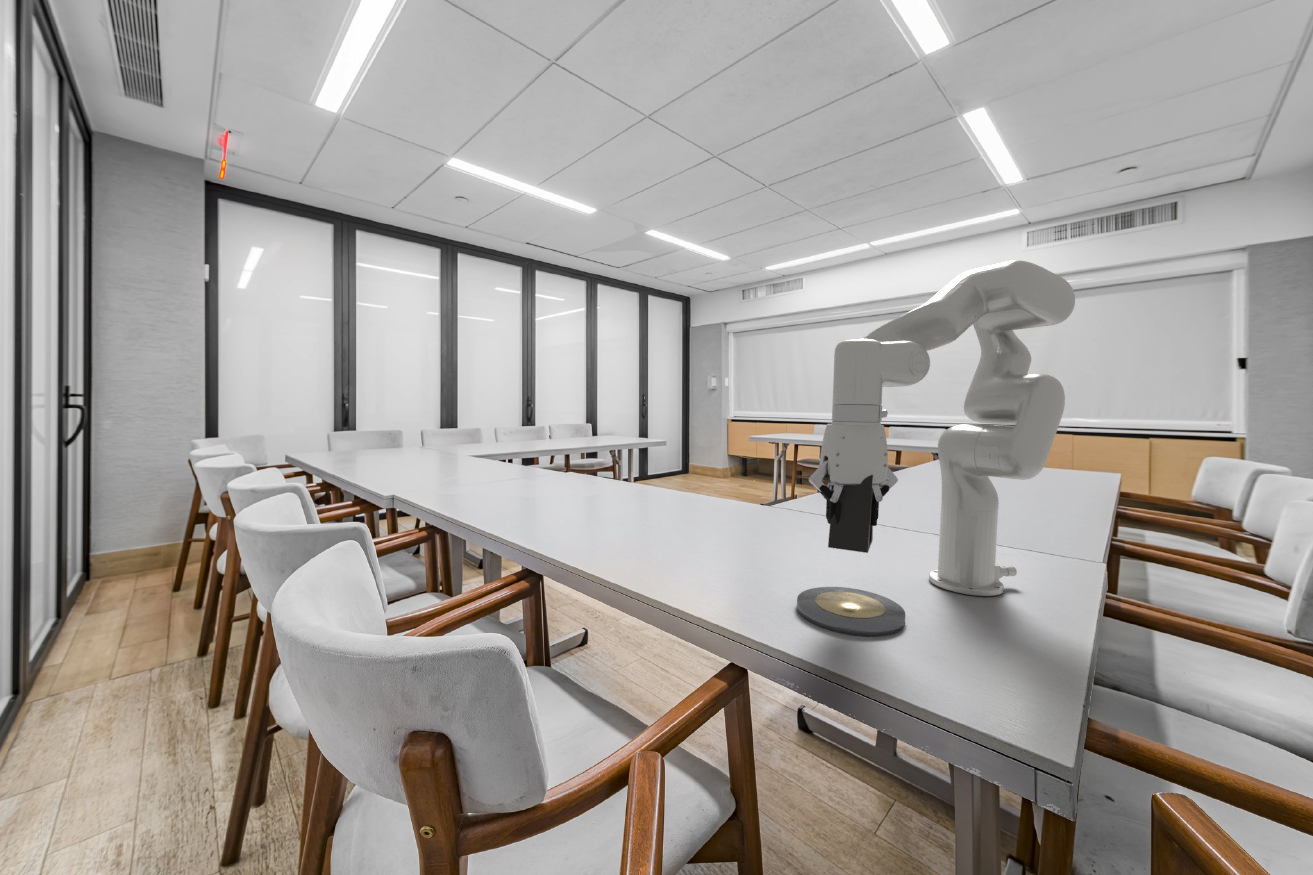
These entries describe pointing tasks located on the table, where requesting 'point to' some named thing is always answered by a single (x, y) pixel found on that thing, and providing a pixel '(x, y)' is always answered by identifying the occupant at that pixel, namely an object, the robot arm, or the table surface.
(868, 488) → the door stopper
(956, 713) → the table surface
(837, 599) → the rosette plate
